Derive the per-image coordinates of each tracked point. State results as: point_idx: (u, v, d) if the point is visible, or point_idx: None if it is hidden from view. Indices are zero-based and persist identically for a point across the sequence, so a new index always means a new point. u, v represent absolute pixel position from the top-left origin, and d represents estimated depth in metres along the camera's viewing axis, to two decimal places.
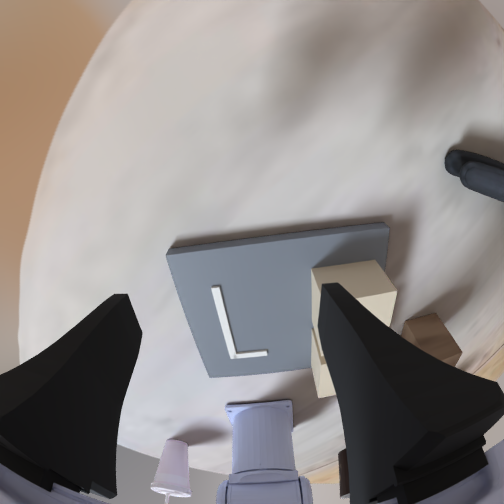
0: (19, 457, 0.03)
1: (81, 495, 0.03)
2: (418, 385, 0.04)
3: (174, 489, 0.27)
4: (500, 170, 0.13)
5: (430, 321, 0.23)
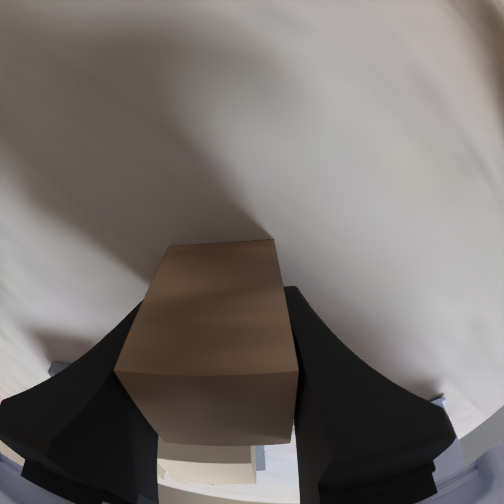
0: (60, 477, 0.03)
1: None
2: (345, 403, 0.04)
3: None
4: None
5: None
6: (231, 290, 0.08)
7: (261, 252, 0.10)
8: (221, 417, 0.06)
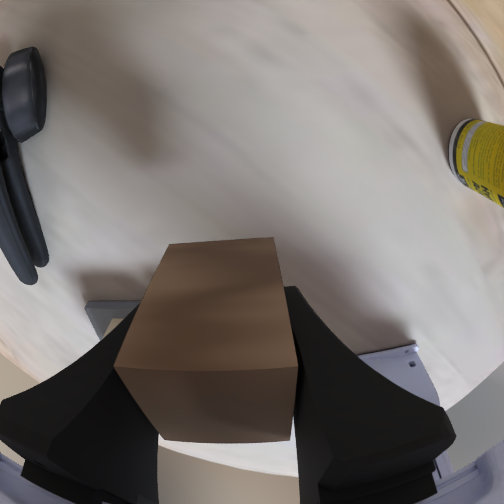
0: (60, 477, 0.03)
1: None
2: (345, 403, 0.04)
3: None
4: (2, 249, 0.14)
5: None
6: (231, 286, 0.08)
7: (261, 250, 0.10)
8: (220, 414, 0.06)
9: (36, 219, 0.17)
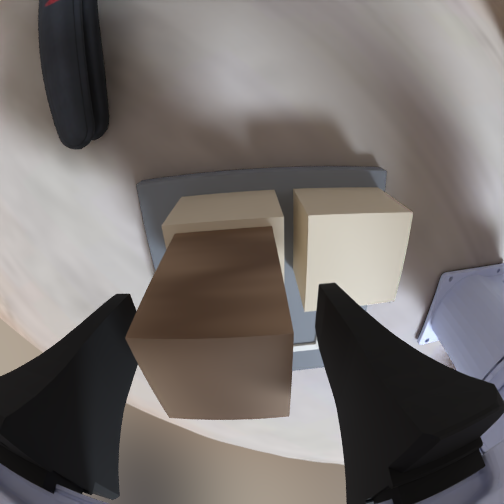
0: (21, 458, 0.03)
1: (81, 495, 0.03)
2: (413, 386, 0.04)
3: None
4: (46, 91, 0.09)
5: None
6: (232, 268, 0.09)
7: (260, 237, 0.10)
8: (223, 385, 0.07)
9: (103, 67, 0.11)
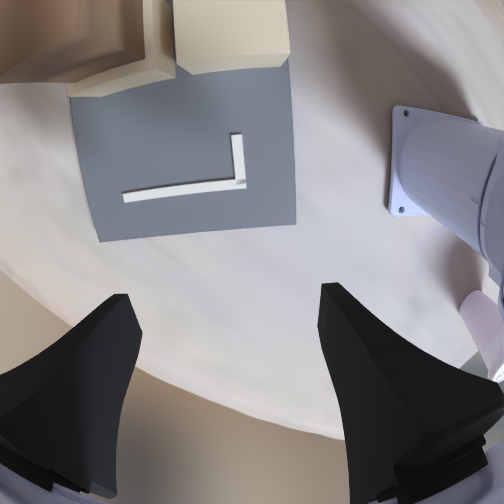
0: (19, 457, 0.03)
1: (81, 495, 0.03)
2: (418, 385, 0.04)
3: None
4: None
5: None
6: None
7: None
8: (33, 4, 0.03)
9: None
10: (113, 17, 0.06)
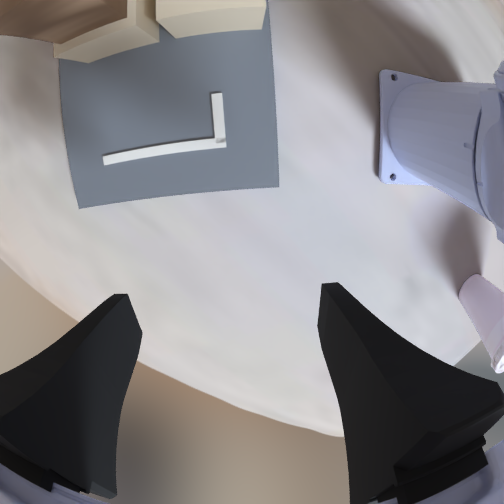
0: (19, 457, 0.03)
1: (81, 495, 0.03)
2: (417, 386, 0.04)
3: None
4: None
5: None
6: None
7: None
8: None
9: None
10: None
